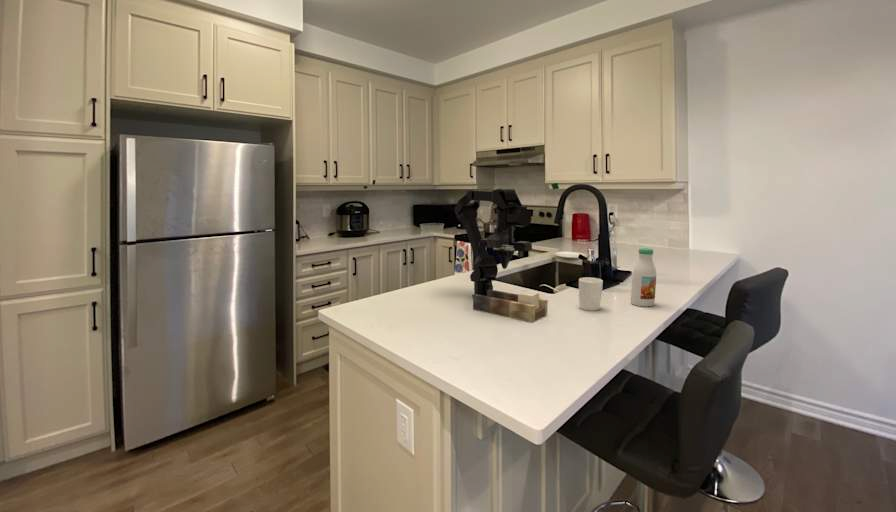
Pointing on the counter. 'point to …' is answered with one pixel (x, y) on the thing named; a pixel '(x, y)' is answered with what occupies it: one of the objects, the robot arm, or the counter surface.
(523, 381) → the counter surface
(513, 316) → the channel
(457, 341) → the counter surface
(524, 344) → the counter surface
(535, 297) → the cream block
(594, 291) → the white cup
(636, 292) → the milk bottle
